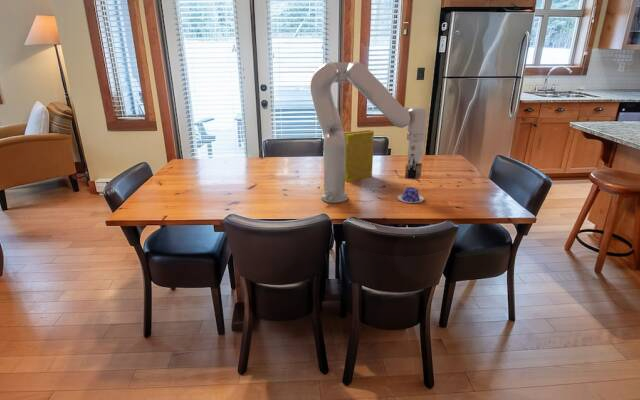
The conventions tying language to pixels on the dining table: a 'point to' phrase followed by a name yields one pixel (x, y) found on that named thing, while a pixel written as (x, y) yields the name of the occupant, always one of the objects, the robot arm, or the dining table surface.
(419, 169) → the walnut cube
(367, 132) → the book
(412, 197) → the pudding
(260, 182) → the dining table surface
